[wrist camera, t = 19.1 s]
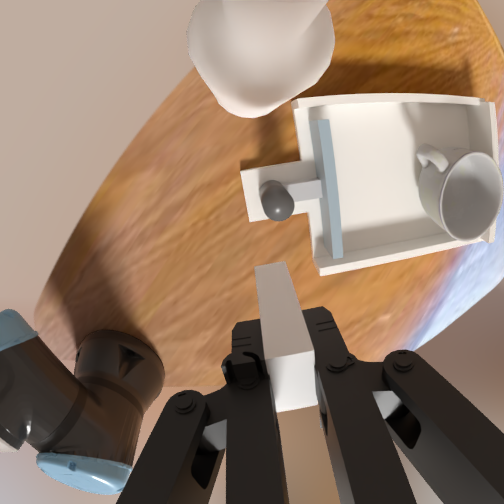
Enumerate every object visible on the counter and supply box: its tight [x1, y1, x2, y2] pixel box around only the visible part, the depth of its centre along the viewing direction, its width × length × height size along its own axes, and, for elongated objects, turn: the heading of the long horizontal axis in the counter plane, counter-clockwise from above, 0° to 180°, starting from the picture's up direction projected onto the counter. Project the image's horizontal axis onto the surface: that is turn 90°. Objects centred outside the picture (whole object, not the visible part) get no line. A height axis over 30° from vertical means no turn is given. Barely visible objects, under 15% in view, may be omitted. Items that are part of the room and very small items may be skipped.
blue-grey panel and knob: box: [259, 119, 343, 259], centre depth 32 cm, size 8×15×6 cm, turn 10°
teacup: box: [416, 144, 504, 241], centre depth 31 cm, size 14×11×8 cm
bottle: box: [187, 0, 335, 118], centre depth 17 cm, size 8×8×30 cm
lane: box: [240, 93, 499, 276], centre depth 33 cm, size 33×20×6 cm, turn 100°
